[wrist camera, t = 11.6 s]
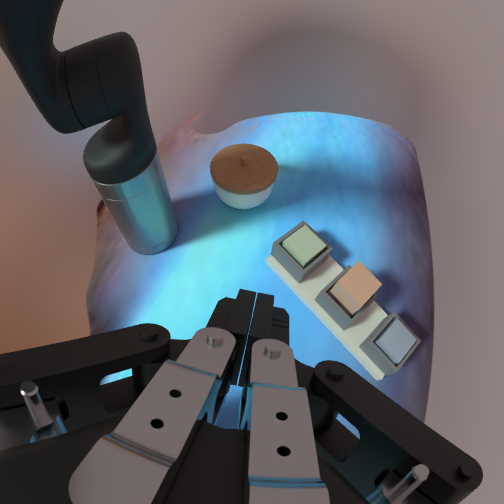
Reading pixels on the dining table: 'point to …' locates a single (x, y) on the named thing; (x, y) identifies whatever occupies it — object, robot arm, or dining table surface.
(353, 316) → the keypad board
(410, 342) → the slate key
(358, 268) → the terracotta key
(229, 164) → the lidded jar
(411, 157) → the dining table surface
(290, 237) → the sage key
